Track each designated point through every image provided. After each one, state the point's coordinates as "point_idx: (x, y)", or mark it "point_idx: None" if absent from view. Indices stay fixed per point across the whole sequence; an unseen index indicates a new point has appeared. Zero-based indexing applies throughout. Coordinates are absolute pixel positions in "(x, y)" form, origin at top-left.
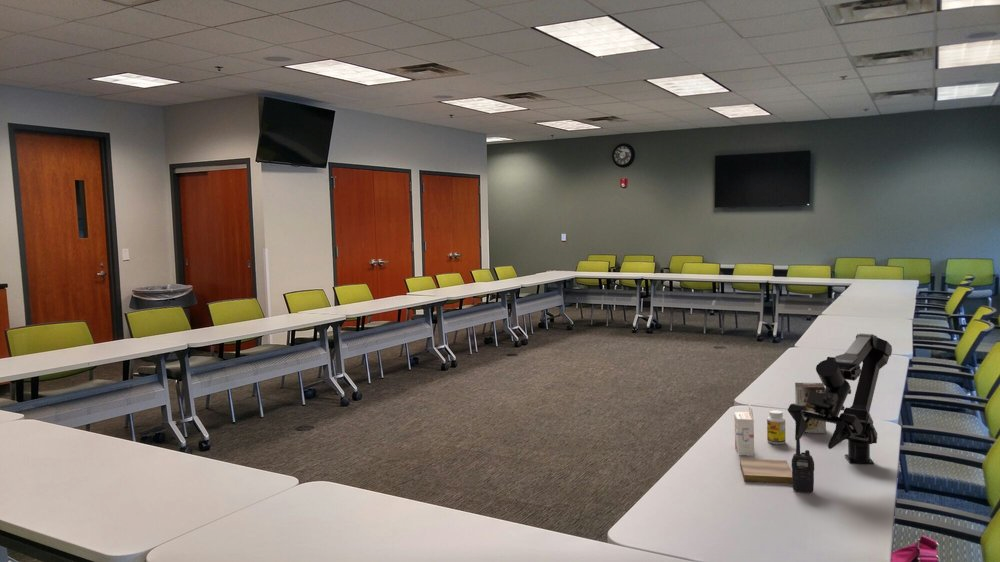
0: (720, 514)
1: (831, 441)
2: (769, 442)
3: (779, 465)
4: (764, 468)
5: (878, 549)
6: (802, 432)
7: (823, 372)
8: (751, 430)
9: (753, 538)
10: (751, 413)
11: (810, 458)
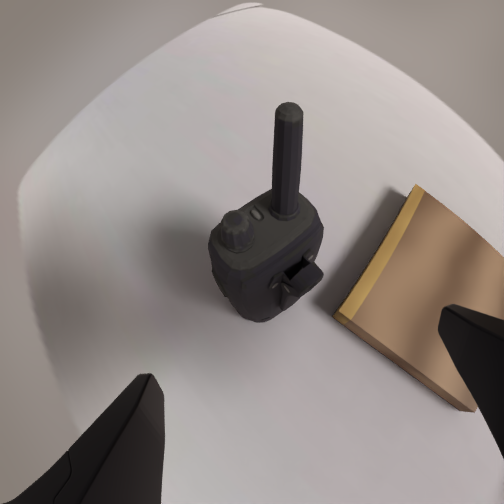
0: (259, 68)
1: (114, 406)
2: None
3: None
4: (449, 281)
5: (22, 187)
6: (491, 406)
7: None
8: None
9: (164, 69)
10: None
11: (210, 238)
